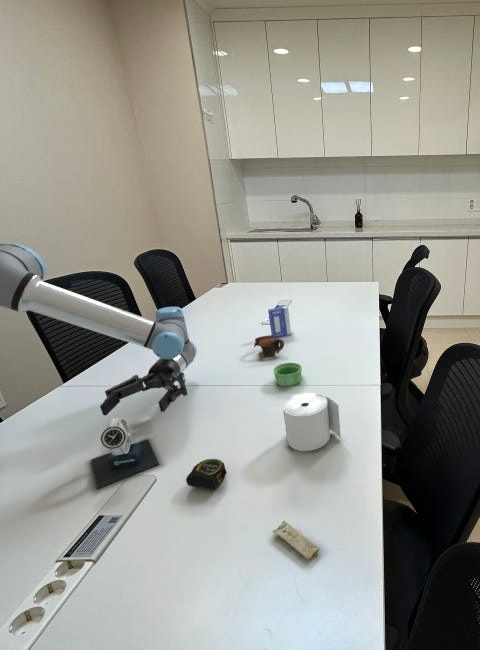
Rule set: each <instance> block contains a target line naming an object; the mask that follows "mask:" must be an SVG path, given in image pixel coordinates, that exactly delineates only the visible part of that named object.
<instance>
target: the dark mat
mask: <svg viewBox="0 0 480 650" xmlns="http://www.w3.org/2000/svg"><path fill="white" fill-rule="evenodd" d="M137 443H140V445H141V448H142V451H143V455H142V458H141V461H140V464H139V465H135V466H130V467H126V468H121V469H116V470H112V469H111V466H110V464H109V461H108V458H109V455H110V453H111V452H108V453H105V454H102V455H99V456H97V457H94V458H92V459H90V461H91V465H92V470H93V475H94V479H95V485H96V489H97V490H99V489H102V488H104V487H107V486H109V485H113V484H115V483H117V482H119V481H122V480H125V479H127V478H129V477H132V476H134V475H137V474H139V473H142V472H144V471H147V470H149V469H151V468H155V467H156V466H159V465H160V462H159V460H158V458H157V456H156V454H155V452H154V449H153V447H152V445H151V442H150V440H149V439H148V438H146V439H144V440H141V441H139V442H137Z"/></svg>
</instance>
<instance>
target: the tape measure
mask: <svg viewBox="0 0 480 650" xmlns="http://www.w3.org/2000/svg"><path fill="white" fill-rule="evenodd" d="M227 474H228V471H227V469H226V465H225V463H224V462H223V461H222V460H220V459H218V458H207V459H203V460H202V461H200V462H198V463H196V465H194V467H193V468H192V469H191V472H189V474H187V476H186V478H185V482H186V485H188V486H190V487H192V488H193V487H194V488H201V489H205V490H206V489H207V490H209V491H216V490H217V489H218V488H219V485H220V484H221V483H222V482H224V480H225V479H226V475H227Z"/></svg>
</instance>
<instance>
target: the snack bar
mask: <svg viewBox="0 0 480 650" xmlns="http://www.w3.org/2000/svg"><path fill="white" fill-rule="evenodd" d="M272 533H273V534H275V535H278V537H280V538H281V539H283V540H284V541H285V542H287V544H289V545H290V546H291V547H292V548H293V549H295V550H296V551H297V552H298V553H299V554H301V555H302V556H303V557H304V558H306V559H310V558H312V557H313V556H314V555H316V554H317V553H318V552H319V551H321V548H320V547H318V546H317V545H316V544H314V543H313V542H312V541H310V539H308V538H307V537H305V536H304V535H302V534H301V533H300V532H299V531H298V530H296V529H295V528H294V527H292V526H291V524H289V523H288V522H287V521H285V520H283V521H282V522H281V524H280V525H278V527H277V528H276V529H274V530H272Z"/></svg>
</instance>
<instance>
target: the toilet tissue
mask: <svg viewBox="0 0 480 650" xmlns="http://www.w3.org/2000/svg"><path fill="white" fill-rule="evenodd" d="M339 407H340V406H339V405H338V404H337V402H336V401H334V400H333V399H331V398H330V397H327V396H325V395H322V394H320V393H315V392H302V393H297V394H294V395H292V396H290V397H288V398H287V399H286V400H284V402H283V403H282V414H283V420H284V426H285V428H284V429H285V434H286V441H287V444H288V446H289V447H290V448H291V449H293V450H294V451H298V452H311V451H315V450H318V449H321V448H323V447H324V446H325V445H327V443H329V440H330V439H331V432H333V434H335V435H337V436H338V437H339V439H341V438H342V437H341V436H342V435H341V425H340V424H341V423H340V409H339Z"/></svg>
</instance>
